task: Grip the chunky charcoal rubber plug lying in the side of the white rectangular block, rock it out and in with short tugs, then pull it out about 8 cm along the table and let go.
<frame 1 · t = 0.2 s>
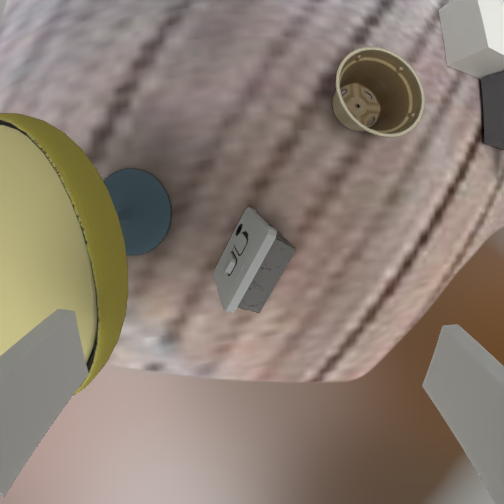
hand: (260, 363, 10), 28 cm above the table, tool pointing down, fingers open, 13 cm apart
flower pot: (356, 106, 33), on the table
cocktail glass: (130, 212, 37), on the table
electrical switch: (250, 247, 38), on the table
white rectangular block: (487, 55, 29), on the table
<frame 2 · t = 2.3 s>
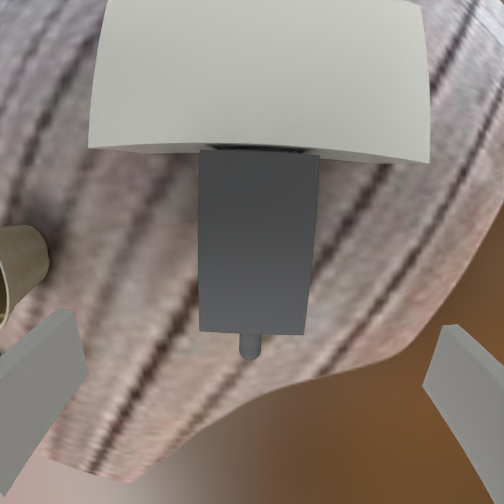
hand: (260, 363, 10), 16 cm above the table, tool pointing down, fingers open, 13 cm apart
flower pot: (30, 252, 26), on the table
plug: (256, 212, 20), point 5 cm above the table, slide at 0.0 cm
white rectangular block: (260, 93, 23), on the table
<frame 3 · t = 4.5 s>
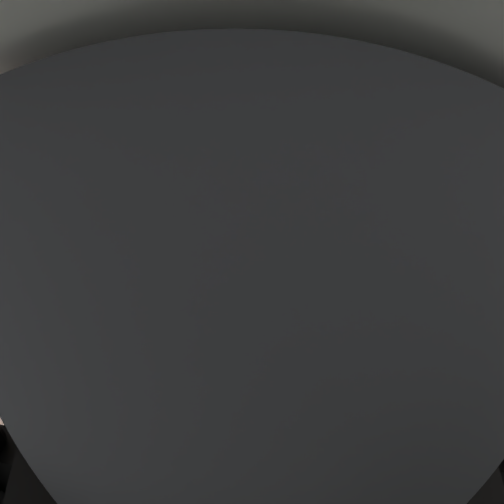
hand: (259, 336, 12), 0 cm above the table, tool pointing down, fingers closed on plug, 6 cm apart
plug: (269, 318, 6), point 5 cm above the table, slide at 0.0 cm, touching gripper
white rectangular block: (274, 16, 9), on the table
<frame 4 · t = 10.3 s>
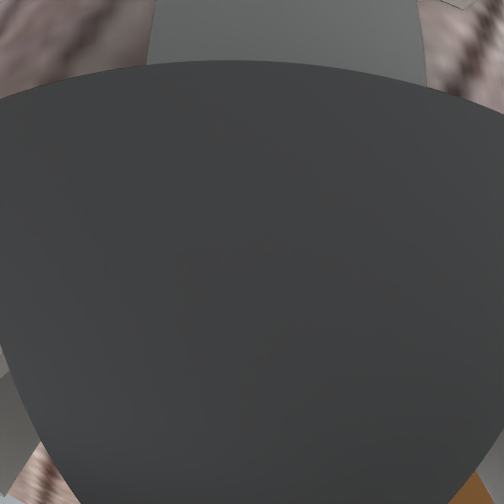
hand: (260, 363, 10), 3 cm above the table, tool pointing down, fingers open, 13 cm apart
plug: (272, 313, 7), point 5 cm above the table, slide at 8.5 cm
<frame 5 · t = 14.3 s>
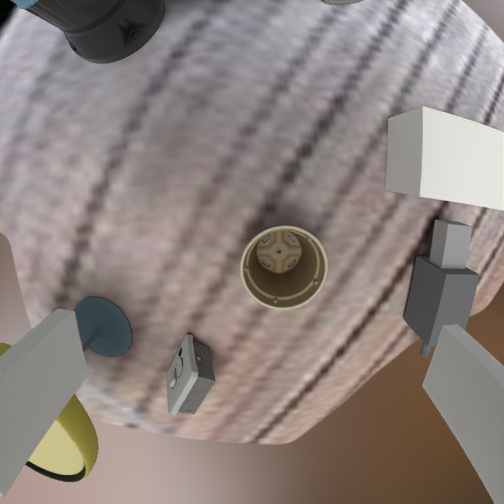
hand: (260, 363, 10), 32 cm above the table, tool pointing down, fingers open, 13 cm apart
flower pot: (279, 249, 42), on the table
plug: (441, 290, 37), point 5 cm above the table, slide at 8.5 cm
cocktail glass: (102, 326, 45), on the table
electrical switch: (192, 358, 46), on the table
white rectangular block: (439, 163, 38), on the table
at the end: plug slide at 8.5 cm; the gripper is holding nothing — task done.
